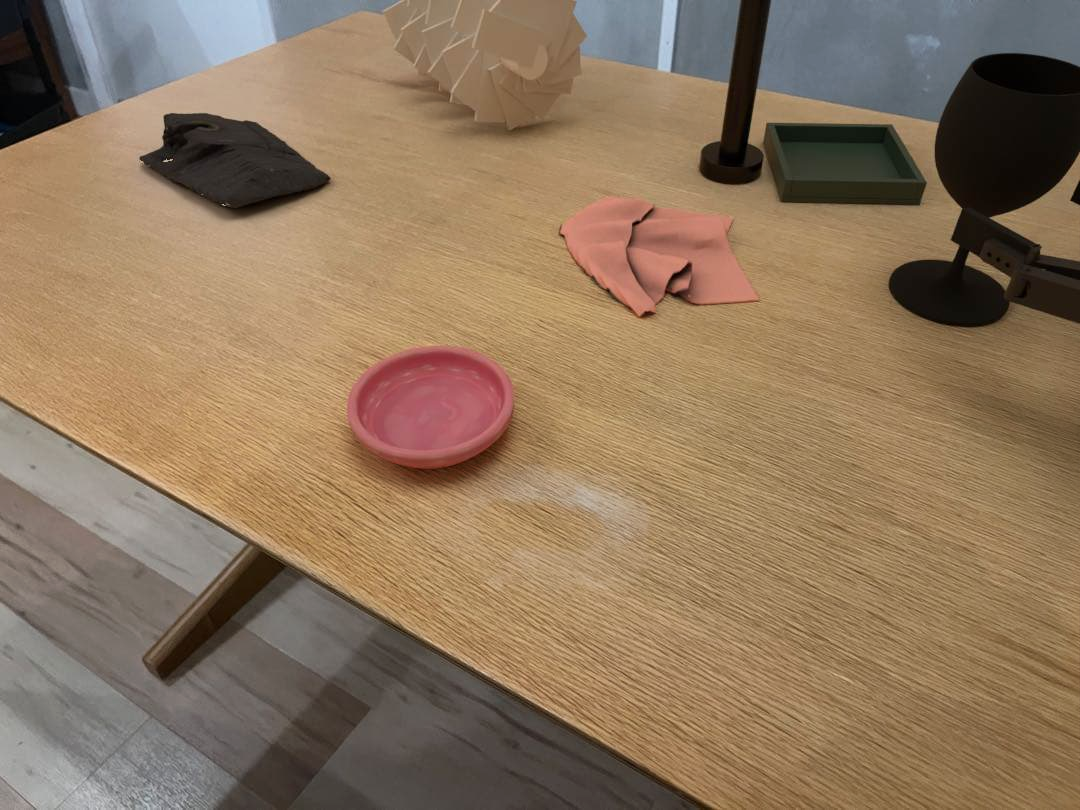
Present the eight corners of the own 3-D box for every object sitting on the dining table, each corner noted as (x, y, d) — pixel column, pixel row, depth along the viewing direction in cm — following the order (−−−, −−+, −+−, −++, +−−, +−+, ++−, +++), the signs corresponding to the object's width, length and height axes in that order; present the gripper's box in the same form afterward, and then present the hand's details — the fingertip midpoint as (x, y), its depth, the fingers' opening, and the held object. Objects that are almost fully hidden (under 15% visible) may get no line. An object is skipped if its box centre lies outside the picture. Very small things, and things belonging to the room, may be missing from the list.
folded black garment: (214, 231, 85) (201, 189, 82) (134, 161, 98) (120, 122, 94) (342, 184, 93) (334, 144, 89) (253, 124, 105) (243, 87, 102)
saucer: (534, 464, 60) (534, 433, 58) (364, 502, 57) (357, 471, 55) (493, 361, 69) (491, 331, 67) (344, 391, 66) (337, 360, 64)
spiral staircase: (476, 97, 121) (567, 152, 104) (366, 65, 110) (448, 121, 93) (516, -35, 113) (621, 1, 97) (402, -84, 103) (498, -52, 86)
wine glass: (1031, 298, 75) (1136, 76, 61) (966, 342, 70) (1064, 112, 57) (930, 250, 81) (1005, 39, 67) (864, 287, 76) (930, 69, 63)
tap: (787, 157, 96) (858, -201, 73) (796, 185, 91) (877, -191, 68) (696, 156, 97) (740, -200, 74) (701, 183, 92) (749, -190, 69)
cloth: (595, 189, 91) (596, 169, 89) (793, 232, 84) (798, 211, 82) (510, 283, 77) (509, 261, 76) (737, 344, 70) (741, 321, 69)
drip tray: (886, 145, 98) (892, 124, 97) (919, 204, 88) (927, 182, 86) (762, 143, 99) (766, 122, 97) (780, 202, 88) (785, 179, 87)
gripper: (1145, 457, 50) (890, 283, 64) (1377, 341, 58) (1105, 209, 72) (1211, 361, 45) (919, 196, 59) (1455, 249, 53) (1146, 127, 67)
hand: (1021, 203), depth 66 cm, fingers open, 13 cm apart
